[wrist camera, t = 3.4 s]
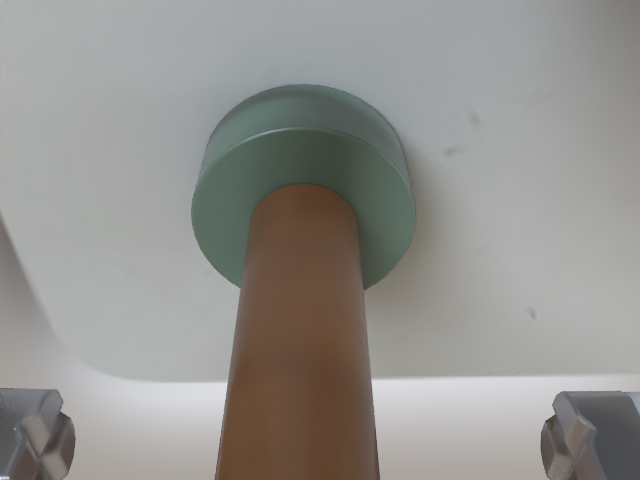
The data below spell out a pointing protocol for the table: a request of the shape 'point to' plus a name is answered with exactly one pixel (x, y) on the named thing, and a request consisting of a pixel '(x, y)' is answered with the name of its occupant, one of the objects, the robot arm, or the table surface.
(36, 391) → the robot arm
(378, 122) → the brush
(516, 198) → the table surface
